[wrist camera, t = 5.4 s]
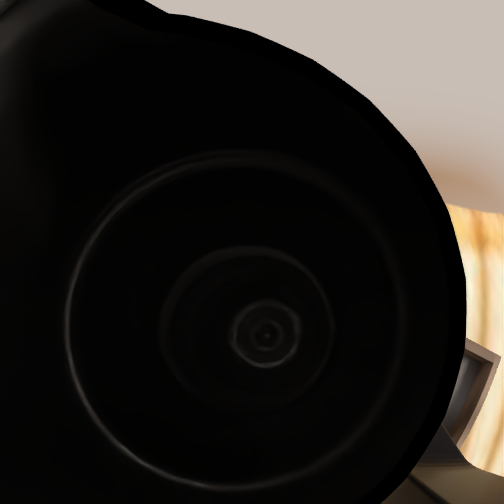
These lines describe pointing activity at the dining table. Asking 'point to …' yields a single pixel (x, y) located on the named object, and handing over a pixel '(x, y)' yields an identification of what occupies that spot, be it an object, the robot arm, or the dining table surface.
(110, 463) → the plastic bottle
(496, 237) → the dining table surface
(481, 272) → the dining table surface
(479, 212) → the dining table surface
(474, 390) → the brown square tray
